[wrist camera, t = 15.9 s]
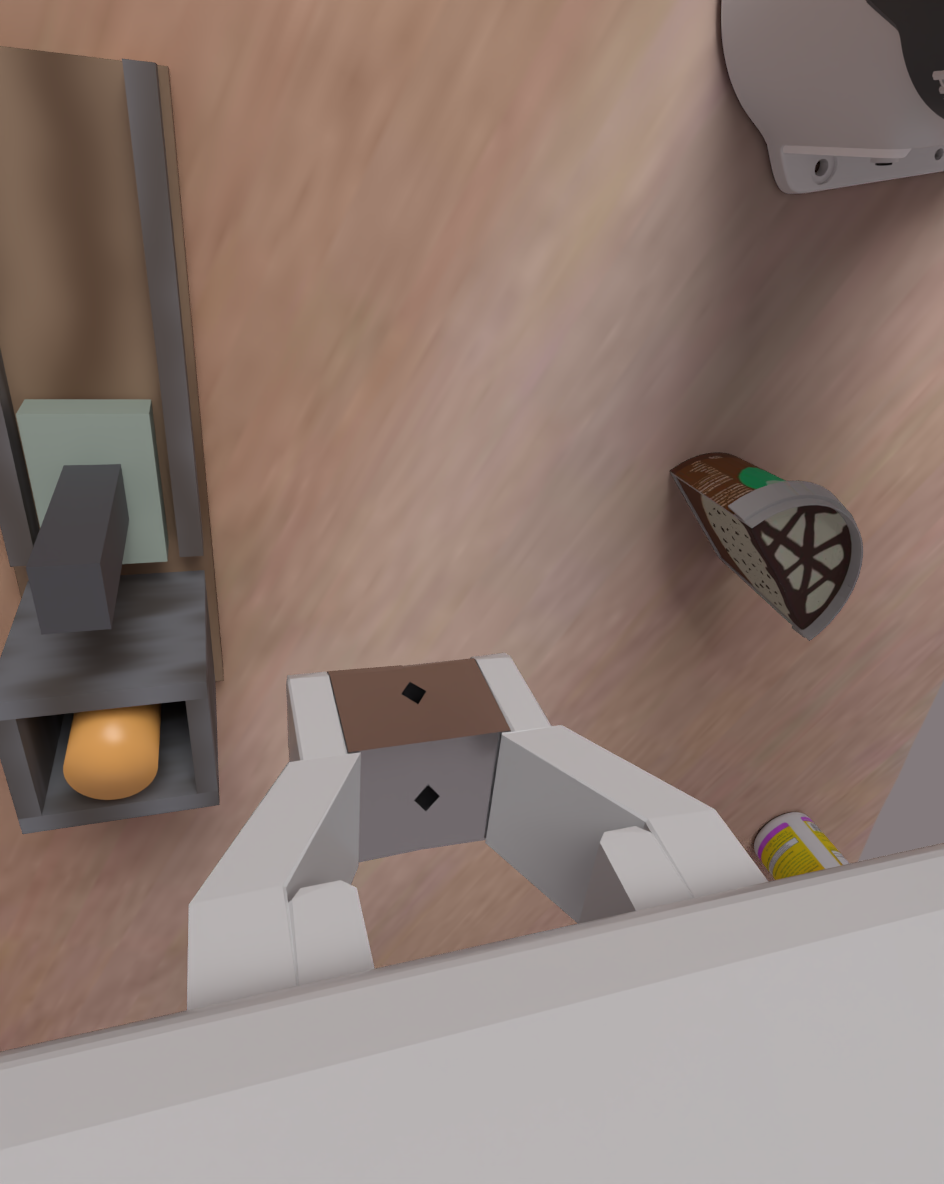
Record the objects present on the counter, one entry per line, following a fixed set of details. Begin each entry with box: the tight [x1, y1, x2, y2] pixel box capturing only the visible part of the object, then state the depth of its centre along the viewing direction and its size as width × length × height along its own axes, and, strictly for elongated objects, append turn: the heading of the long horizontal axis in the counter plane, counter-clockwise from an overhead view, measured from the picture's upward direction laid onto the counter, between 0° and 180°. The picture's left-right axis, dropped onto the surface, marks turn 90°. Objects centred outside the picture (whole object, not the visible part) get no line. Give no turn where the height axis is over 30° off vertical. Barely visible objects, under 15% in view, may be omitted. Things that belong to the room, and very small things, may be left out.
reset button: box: [63, 703, 162, 800], centre depth 38 cm, size 4×4×6 cm
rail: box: [0, 46, 224, 834], centre depth 35 cm, size 10×32×12 cm, turn 175°
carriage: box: [16, 399, 169, 635], centre depth 34 cm, size 6×8×12 cm
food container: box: [670, 453, 863, 641], centre depth 50 cm, size 12×6×10 cm, turn 35°
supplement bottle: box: [754, 812, 849, 880], centre depth 74 cm, size 7×7×13 cm
